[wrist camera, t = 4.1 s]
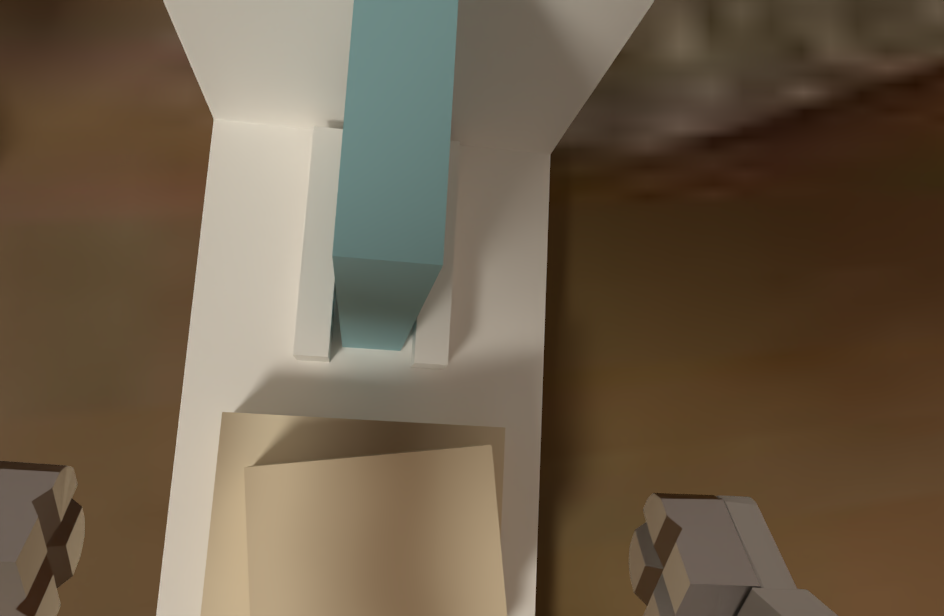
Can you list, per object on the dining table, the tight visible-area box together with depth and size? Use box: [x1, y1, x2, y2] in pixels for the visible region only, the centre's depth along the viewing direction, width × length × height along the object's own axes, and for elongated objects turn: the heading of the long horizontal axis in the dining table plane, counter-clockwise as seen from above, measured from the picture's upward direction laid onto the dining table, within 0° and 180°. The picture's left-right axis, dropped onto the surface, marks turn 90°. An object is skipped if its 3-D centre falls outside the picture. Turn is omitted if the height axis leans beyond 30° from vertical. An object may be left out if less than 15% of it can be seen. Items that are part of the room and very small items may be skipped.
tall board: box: [332, 0, 458, 351], centre depth 19 cm, size 2×6×12 cm, turn 177°
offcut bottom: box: [200, 412, 505, 616], centre depth 23 cm, size 8×6×2 cm
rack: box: [156, 0, 655, 616], centre depth 18 cm, size 11×19×15 cm, turn 177°
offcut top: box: [244, 445, 507, 616], centre depth 21 cm, size 6×5×2 cm
